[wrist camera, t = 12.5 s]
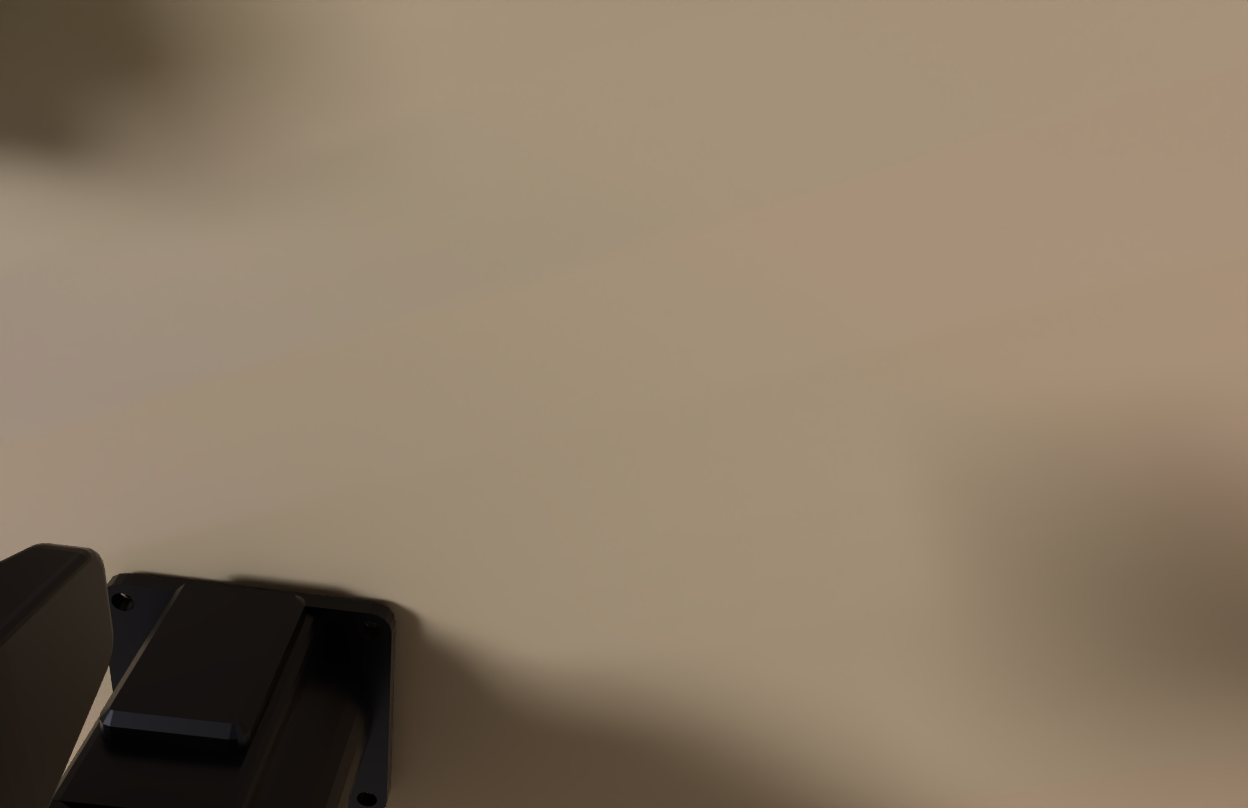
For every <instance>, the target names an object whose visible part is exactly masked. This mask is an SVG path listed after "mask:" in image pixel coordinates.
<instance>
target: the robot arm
mask: <svg viewBox="0 0 1248 808" xmlns="http://www.w3.org/2000/svg"><path fill="white" fill-rule="evenodd" d="M121 593H123V594H126V595H128V596H129V597H131V598H132V599H133V600H131V599H127V598H125V597H124V596H123V595H121ZM364 622H372V623H375V624H376V625H378V626H379V627H375V628H373V627H370V626H367V625H366V624H365V623H364ZM395 623H396V621H395V617H394V614H393V613H392V611H391V610H390V609H389V608H388V607H386V606H384V605H383V604H380V603H376V602H371V601H362V600H353V599H345V598H336V597H328V596H319V595H310V594H302V593H293V592H285V591H276V590H267V589H259V588H250V587H241V586H233V585H224V584H216V583H207V582H198V581H190V580H181V579H173V578H164V577H155V576H147V575H138V574H129V573H125V574H118V575H116V576H113V577H112V579H111V580H110V581H109V582H108V584H107V582H106V575H105V568H104V564H103V560H102V559H101V557H100V555H99V554H98V553H97V552H96V551H94V550H92V549H90V548H85V547H76V546H68V545H59V544H51V543H41V544H36V545H34V546H31V547H29V548H27V549H25V550H23V551H20V552H18V553H16V554H14V555H12V556H10V557H8V558H6V559H4V560H2V561H0V808H384V807H385V806H386V803H387V800H388V796H389V792H390V787H391V754H392V721H393V689H394V656H395ZM108 666H109V667H110V674H111V681H112V688H113V693H112V695H111V697H110V698H109V700H108V702H107V703H106V705H105V706H104V708H103V710H102V711H101V713H100V716H99V718H98V719H97V721H96V722H95V724H94V726H93V727H92V729H91V731H90V732H89V734H88V735H87V737H86V739H85V740H84V742H83V744H82V745H81V747H80V748H79V750H78V752H77V753H76V755H75V757H74V758H73V760H72V761H71V763H70V765H69V766H68V768H67V770H66V771H65V773H64V770H65V768H66V766H67V763H68V761H69V758H70V756H71V754H72V751H73V749H74V747H75V744H76V742H77V740H78V737H79V735H80V733H81V730H82V728H83V725H84V723H85V721H86V718H87V716H88V714H89V711H90V709H91V707H92V704H93V702H94V699H95V697H96V695H97V692H98V690H99V688H100V685H101V683H102V681H103V678H104V676H105V673H106V671H107V668H108ZM63 773H64V774H63ZM62 775H63V776H62ZM61 777H62V778H61ZM366 792H368V793H366ZM370 793H372V794H370Z"/></svg>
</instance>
